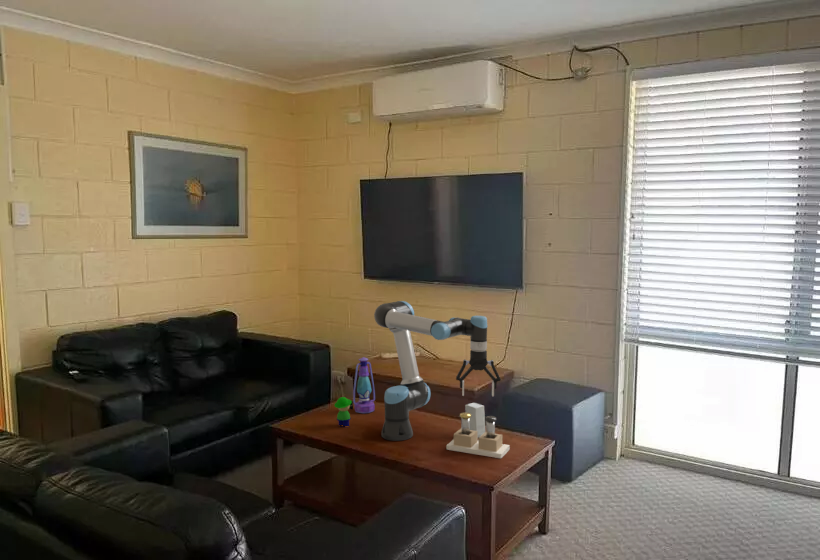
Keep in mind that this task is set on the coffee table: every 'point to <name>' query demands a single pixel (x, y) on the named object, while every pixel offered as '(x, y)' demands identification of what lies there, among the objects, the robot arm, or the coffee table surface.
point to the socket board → (478, 444)
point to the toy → (343, 410)
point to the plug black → (490, 426)
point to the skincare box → (476, 417)
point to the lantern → (364, 388)
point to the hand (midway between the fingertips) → (477, 395)
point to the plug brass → (465, 423)
